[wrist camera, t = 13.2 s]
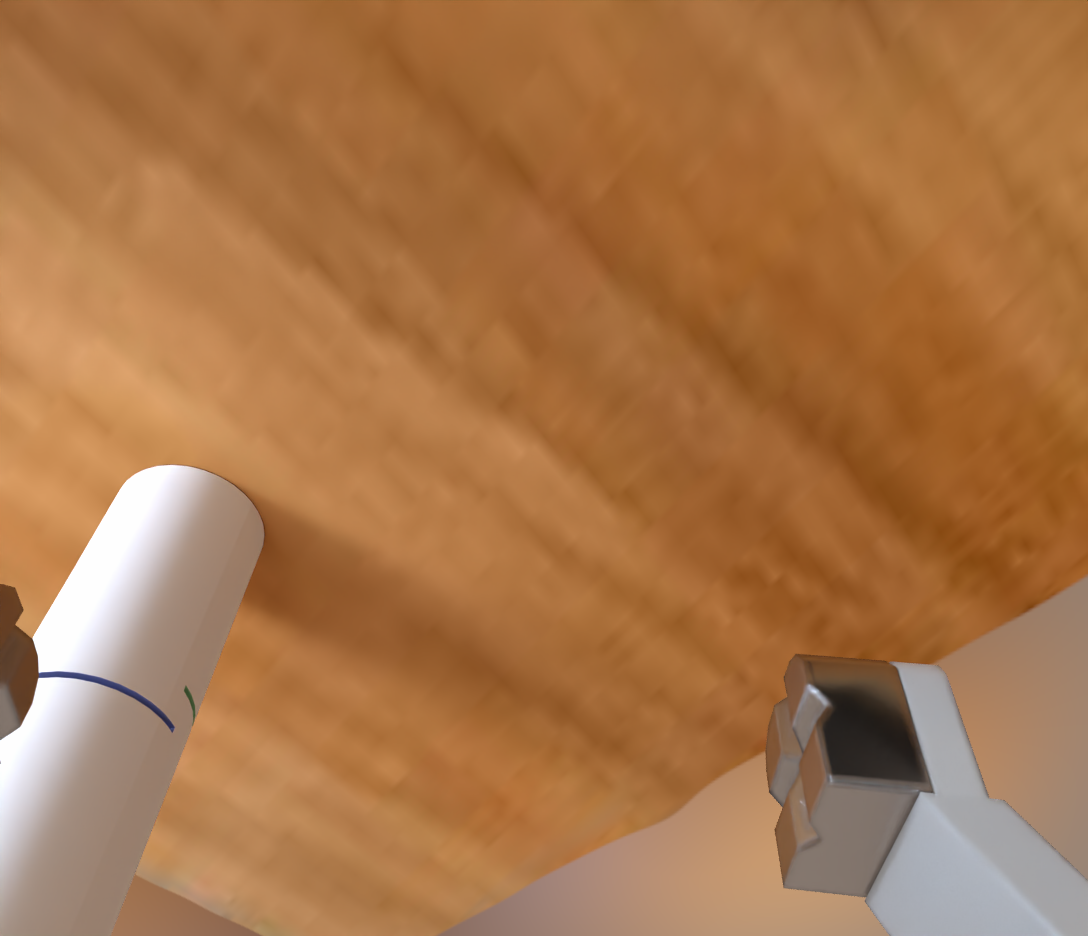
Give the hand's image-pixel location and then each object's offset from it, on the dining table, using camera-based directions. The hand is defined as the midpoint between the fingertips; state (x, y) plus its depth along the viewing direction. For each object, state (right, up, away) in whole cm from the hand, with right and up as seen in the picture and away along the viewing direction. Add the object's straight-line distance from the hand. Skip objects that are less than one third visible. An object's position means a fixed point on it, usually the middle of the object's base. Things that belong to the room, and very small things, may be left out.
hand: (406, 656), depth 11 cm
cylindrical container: (-16, -1, +39) cm, 42 cm away
